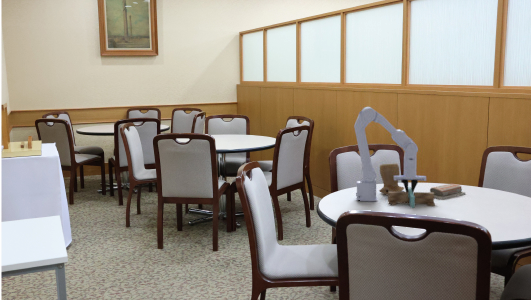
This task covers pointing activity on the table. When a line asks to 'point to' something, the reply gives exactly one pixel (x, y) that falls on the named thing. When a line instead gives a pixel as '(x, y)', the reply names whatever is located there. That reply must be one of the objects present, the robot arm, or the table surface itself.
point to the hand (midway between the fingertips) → (409, 195)
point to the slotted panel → (411, 197)
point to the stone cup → (390, 178)
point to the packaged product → (446, 191)
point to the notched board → (403, 198)
